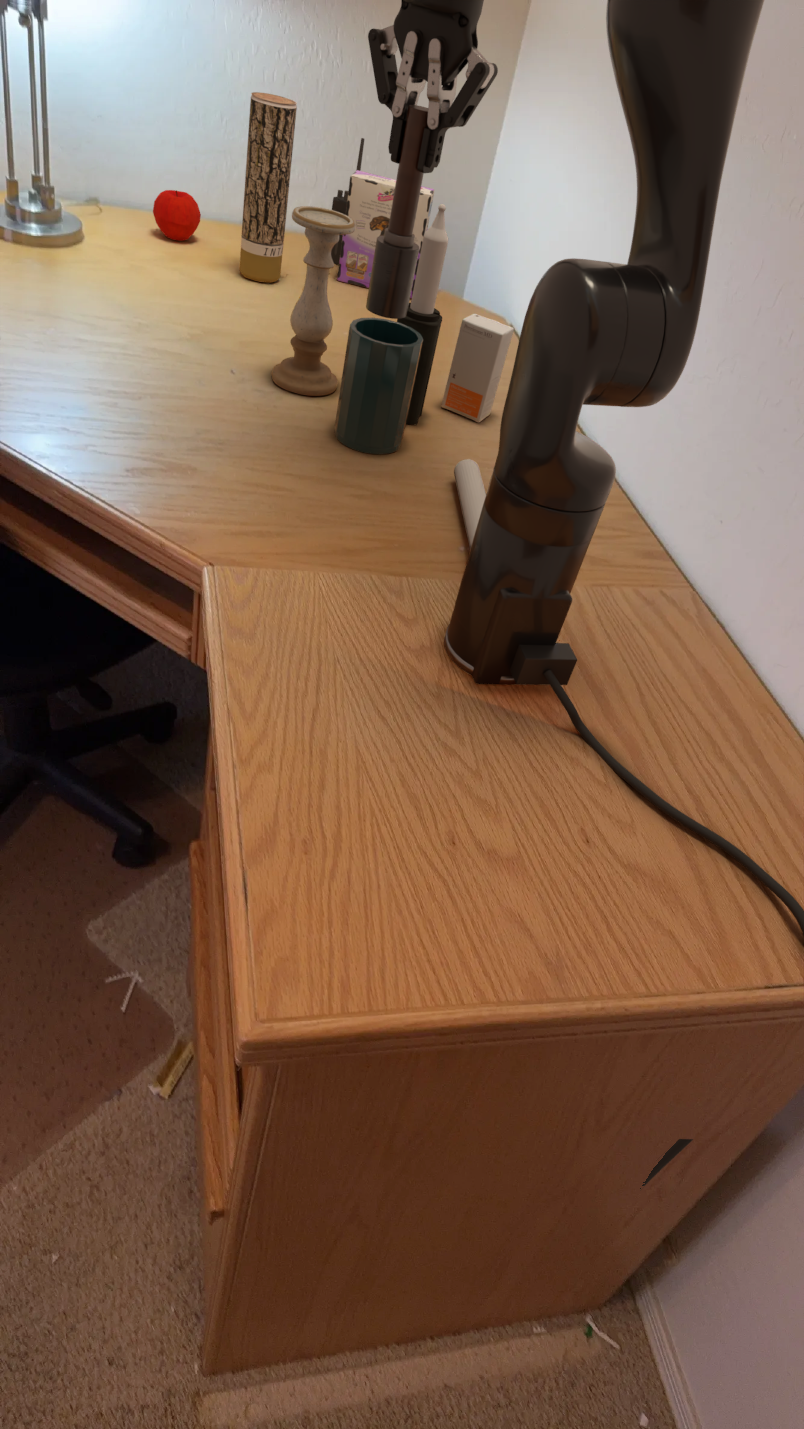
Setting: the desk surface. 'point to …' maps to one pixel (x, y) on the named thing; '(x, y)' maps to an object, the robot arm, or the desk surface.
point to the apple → (176, 214)
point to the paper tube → (266, 185)
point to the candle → (426, 308)
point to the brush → (399, 229)
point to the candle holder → (313, 305)
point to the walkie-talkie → (343, 208)
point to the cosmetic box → (477, 367)
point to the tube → (470, 494)
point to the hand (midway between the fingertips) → (412, 166)
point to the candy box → (374, 224)
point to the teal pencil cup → (377, 385)
